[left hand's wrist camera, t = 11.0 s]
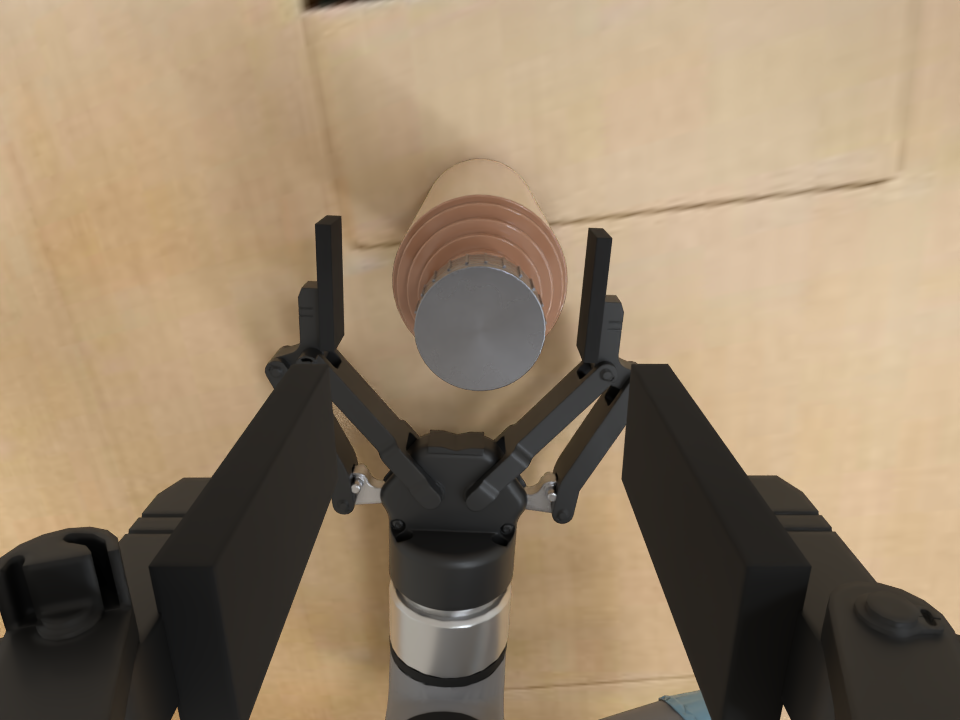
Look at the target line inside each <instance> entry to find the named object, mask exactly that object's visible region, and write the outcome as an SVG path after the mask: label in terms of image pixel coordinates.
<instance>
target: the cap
mask: <svg viewBox="0 0 960 720" xmlns="http://www.w3.org/2000/svg"><path fill="white" fill-rule="evenodd" d="M543 306H544V305H543V302H542V299H541V295H540V294H538V293H537V290H536V288H535V286H534V282H533V279H532V278H531V279H529V277H528V276H527V275H526V274H525V273H524V272H523V271H522V270H521V267H520V266H519V265H518V267H517V266H516V265H514V264H513V263H511V262H509V261H507V260H505V257H502V258H500V257H496V256H492V255H487V253H484V254H476V255H468V254H466V256H464V257H460V258H457V259H455V260H453V261H451V260H449V261H448V263H447V264H446V265H444V266H443V267H441V268H440V269H439V270H438V271H436V270H435V271H434V273H433V276H432V277H431V278H430V280H429V281H428V283H427V284H424V286H423V289H422V292H421V299H420V301H419V300H418V302H417V306H416V309H415V312H414V313H415V314H416V316H415V323H414V334H415V341H416V344H417V348H418V350H419V353H420V355H421V357H422V359H423V360H424V362H425V363H426V365H427V366H428V367H429V368H430V370H431V371H433V372H434V373H435V374H436V375H437V376H438V377H440V378H441V379H442V380H444V381H446V382H447V383H449V384H451V385H454V386H456V387H459V388H462V389H466V390H473V391H486V390H493V389H498V388H501V387H504V386H507V385H509V384H511V383H513V382H515V381H516V380H518V379H519V378H521V377H522V376H523V375H524V374H525V373H527V372H528V370H529V369H530V368H531V367H532V366H533V365H534V363H535V362H536V360H537V359H538V357H539V355H540V353H541V350H542V347H543V345H544V340H545V332H546V325H545V324H547V322H546V318H545V315H544V312H543V309H542V307H543Z"/></svg>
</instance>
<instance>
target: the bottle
mask: <svg viewBox="0 0 960 720" xmlns="http://www.w3.org/2000/svg"><path fill="white" fill-rule="evenodd" d="M484 253H487V255H492V256H496V257H500V258H502V257H505V260H507V261H509V262H511V263H513V264H514V265H516V266H517V267H518V265H519V266H520V267H521V270H522V271H523V272H524V273H525V274H526V275H527V276H528V277H529V279H531V278H532V279H533V282H534V286H535V288H536V290H537V293H538V294H540V295H541V299H542V302H543V305H544V306H543V307H542V309H543V312H544V315H545V318H546V322H547V324H545V325H546V332H545V336H546V335H547V334H548V333H549V332H550V330H551V329H552V327H553V326H554V325H555V323H556V321H557V319H558V317H559V315H560V313H561V311H562V308H563V305H564V302H565V297H566V293H567V282H568V279H567V267H566V262H565V258H564V255H563V252H562V249H561V246H560V244H559V242H558V240H557V238H556V236H555V235H554V233H553V231H552V229H551V227H550V226H549V224H548V222H547V220H546V218H545V217H544V215H543V213H542V211H541V209H540V207H539V206H538V204H537V202H536V200H535V198H534V197H533V195H532V193H531V191H530V189H529V187H528V186H527V184H526V183H525V181H524V180H523V179H522V178H521V177H520V176H519V174H517V173H516V172H515V171H514V170H513V169H511V168H509V167H508V166H506V165H504V164H502V163H500V162H497V161H493V160H488V159H472V160H467V161H463V162H461V163H458V164H456V165H454V166H452V167H450V168H449V169H448V170H446V171H445V172H444V173H443V174H442V175H441V176H440V177H439V178H438V179H437V180H436V181H435V183H434V184H433V186H432V188H431V189H430V191H429V193H428V195H427V197H426V198H425V200H424V202H423V204H422V206H421V208H420V209H419V211H418V213H417V215H416V217H415V218H414V220H413V222H412V224H411V226H410V227H409V229H408V231H407V233H406V235H405V237H404V238H403V240H402V242H401V244H400V247H399V249H398V251H397V254H396V258H395V262H394V267H393V292H394V298H395V302H396V305H397V309H398V311H399V313H400V315H401V318H402V319H403V321H404V323H405V324H406V326H407V328H408V329H409V330H410V332H411V333H412V334H413V335H414V337H415V334H414V323H415V316H416V314H415V313H414V312H415V309H416V306H417V302H418V300H419V301H420V299H421V292H422V289H423V286H424V284H427V283H428V281H429V280H430V278H431V277H432V276H433V273H434V271H435V270H436V271H438V270H439V269H440V268H441V267H443V266H444V265H446V264H447V263H448V261H449V260H451V261H453V260H455V259H457V258H460V257H464V256H466V254H468V255H476V254H484Z"/></svg>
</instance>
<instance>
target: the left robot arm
mask: <svg viewBox="0 0 960 720" xmlns="http://www.w3.org/2000/svg"><path fill="white" fill-rule="evenodd" d="M337 482H338V468H337V456H336V444H335V432H334V421H333V409H332V397H331V385H330V373H329V364H292V365H291V366H290V368H289V369H288V370H287V372H286V373H285V375H284V376H283V378H282V379H281V380H280V382H279V383H278V385H277V386H276V387H275V389H274V390H273V392H272V393H271V394H270V396H269V397H268V399H267V400H266V401H265V403H264V404H263V406H262V407H261V408H260V410H259V411H258V413H257V414H256V416H255V417H254V418H253V420H252V421H251V423H250V424H249V425H248V427H247V428H246V430H245V431H244V432H243V434H242V435H241V437H240V438H239V439H238V441H237V442H236V444H235V445H234V446H233V448H232V449H231V451H230V452H229V454H228V455H227V456H226V458H225V459H224V461H223V462H222V463H221V465H220V466H219V468H218V469H217V470H216V472H215V473H214V475H213V476H212V477H211V478H182V479H181V480H179V481H178V482H176V483H175V484H173V485H172V486H170V487H168V488H167V489H165V490H164V491H162V492H161V493H159V494H158V495H157V496H156V497H155V498H154V500H153V501H152V502H151V503H150V505H149V506H148V507H147V508H146V509H145V511H144V512H143V513H142V518H138V519H137V520H136V522H135V523H134V524H133V525H132V527H131V528H130V529H129V533H128V534H125V535H124V536H123V538H122V539H121V540H120V541H119V542H118V538H117V537H116V536H115V535H113V534H112V533H111V532H109V531H108V530H104V529H99V528H94V527H80V528H67V529H63V530H59V531H55V532H51V533H47V534H43V535H41V536H39V537H36V538H34V539H32V540H29V541H27V542H25V543H22V544H20V545H19V546H17V547H16V548H14V549H13V550H11V551H10V552H8V553H7V554H5V555H4V556H2V557H1V558H0V613H1V616H2V619H3V622H4V626H5V629H6V633H5V635H4V637H3V638H0V720H171V718H172V716H173V714H174V712H175V710H176V708H177V707H178V712H179V717H180V720H249V717H250V715H251V712H252V709H253V707H254V704H255V701H256V699H257V696H258V693H259V691H260V688H261V685H262V683H263V680H264V677H265V675H266V672H267V669H268V667H269V664H270V661H271V659H272V656H273V653H274V650H275V648H276V645H277V642H278V640H279V637H280V634H281V632H282V629H283V626H284V624H285V621H286V618H287V616H288V613H289V610H290V608H291V605H292V602H293V600H294V597H295V594H296V591H297V589H298V586H299V583H300V581H301V578H302V575H303V573H304V570H305V567H306V565H307V562H308V559H309V557H310V554H311V551H312V549H313V546H314V543H315V541H316V538H317V535H318V533H319V530H320V527H321V524H322V522H323V519H324V516H325V514H326V511H327V508H328V506H329V503H330V500H331V498H332V495H333V492H334V490H335V487H336V484H337ZM622 482H623V484H624V487H625V490H626V492H627V495H628V498H629V500H630V503H631V506H632V508H633V511H634V514H635V516H636V519H637V522H638V524H639V527H640V530H641V533H642V535H643V538H644V541H645V543H646V546H647V549H648V551H649V554H650V557H651V559H652V562H653V565H654V567H655V570H656V573H657V575H658V578H659V581H660V583H661V586H662V589H663V591H664V594H665V597H666V600H667V602H668V605H669V608H670V610H671V613H672V616H673V618H674V621H675V624H676V626H677V629H678V632H679V634H680V637H681V640H682V642H683V645H684V648H685V650H686V653H687V656H688V659H689V661H690V664H691V667H692V669H693V672H694V675H695V677H696V680H697V683H698V685H699V688H700V691H701V693H702V696H703V699H704V701H705V704H706V707H707V709H708V712H709V715H710V717H711V720H780V717H781V712H782V707H783V705H784V707H785V709H786V711H787V713H788V715H789V717H790V719H791V720H960V635H957V634H955V631H954V630H953V628H952V627H951V625H950V624H949V623H948V621H947V620H946V619H945V617H944V616H943V615H942V614H941V613H940V612H939V611H937V610H936V609H935V608H933V607H932V606H931V605H930V604H928V603H927V602H926V601H924V600H922V599H920V598H918V597H916V596H914V595H912V594H910V593H908V592H906V591H904V590H902V589H899V588H895V587H892V586H888V585H885V584H881V583H877V582H876V581H875V580H874V578H873V577H872V576H871V575H870V573H869V572H868V571H867V570H866V569H865V567H864V566H863V565H862V564H861V563H860V561H859V560H858V559H857V558H856V556H855V555H854V554H853V553H852V552H851V550H850V549H849V548H848V547H847V545H846V544H845V543H844V542H843V541H842V539H841V538H840V537H839V536H838V535H837V533H836V532H832V527H831V526H830V525H829V524H828V522H827V521H826V520H825V519H824V517H823V516H822V515H819V514H818V510H817V509H816V508H815V507H814V505H813V504H812V503H811V502H810V500H809V499H808V498H807V497H806V496H805V494H804V493H803V492H802V491H800V490H799V489H797V488H795V487H794V486H792V485H791V484H789V483H788V482H786V481H784V480H783V479H781V478H780V477H778V476H747V475H746V473H745V472H744V470H743V469H742V468H741V466H740V465H739V463H738V462H737V461H736V459H735V458H734V456H733V455H732V454H731V452H730V451H729V449H728V448H727V446H726V445H725V444H724V442H723V441H722V439H721V438H720V437H719V435H718V434H717V432H716V431H715V430H714V428H713V427H712V425H711V424H710V423H709V421H708V420H707V418H706V417H705V416H704V414H703V413H702V411H701V410H700V408H699V407H698V406H697V404H696V403H695V401H694V400H693V399H692V397H691V396H690V394H689V393H688V392H687V390H686V389H685V387H684V386H683V385H682V383H681V382H680V380H679V379H678V378H677V376H676V375H675V373H674V372H673V370H672V369H671V368H670V366H669V365H668V364H631V373H630V385H629V397H628V409H627V421H626V432H625V444H624V456H623V468H622Z"/></svg>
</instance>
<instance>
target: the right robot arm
mask: <svg viewBox="0 0 960 720" xmlns="http://www.w3.org/2000/svg"><path fill="white" fill-rule="evenodd" d="M315 236H316V262H317V281H308V282H307V283H306V284H305V285H304V286H303V287H302V288H301V291H300V294H299V296H298V304H299V325H300V343H299V344H297V345H294V346H283V347H282V348H280V349H279V350H278V352H277V353H276V354H275V355H274V357H273V358H272V359H271V360H270V362H269V363H268V364H267V366H266V368H265V373H266V376H267V378H268V379H269V381H270V383H271V384H272V386H273V388H274V389H275V387H276V386H277V385H278V383H279V382H280V380H281V379H282V378H283V376H284V375H285V373H286V372H287V370H288V369H289V368H290V366H291V365H292V364H329V373H330V385H331V397H332V401H333V403H334V404H335V405H336V406H337V407H338V408H339V409H340V410H341V411H342V412H343V413H344V414H345V416H346V417H347V418H348V419H349V420H350V421H351V422H352V423H353V424H354V425H355V426H356V427H357V429H358V430H359V431H360V432H361V433H362V434H363V435H364V436H365V437H366V438H367V439H368V440H369V441H370V443H371V444H372V445H373V446H374V447H375V448H376V449H377V450H378V452H379V455H380V458H381V459H382V461H383V462H384V463H385V465H386V466H387V467H388V468H389V469H390V471H389V472H388V473H387V474H386V476H385V477H384V480H378V479H375V478H374V477H373V476H372V475H371V473H370V471H369V470H368V468H367V467H366V465H364V464H359V465H358V461H357V457H356V454H355V452H354V450H353V448H352V446H351V444H350V442H349V440H348V438H347V437H346V435H345V433H344V431H343V430H342V428H341V426H340V424H339V423H338V421H337V419H336V417H335V416H334V414H333V421H334V432H335V444H336V456H337V468H338V482H337V484H336V487H335V490H334V492H333V495H332V503H333V507H334V510H335V511H336V512H338V513H340V514H349V513H350V512H352V510H353V509H354V506H355V504H372V503H382V504H383V506H384V507H385V509H386V511H387V513H388V516H389V573H390V577H391V579H390V584H389V628H390V636H389V638H390V672H389V695H388V705H387V712H386V718H385V720H504V678H505V654H506V647H507V639H508V634H509V619H510V605H511V591H512V585H511V580H512V576H513V566H514V553H515V540H516V528H517V521H518V519H519V517H520V515H521V514H522V513H523V511H524V510H525V509H528V510H535V511H542V512H549V513H552V517H553V519H554V521H556V522H557V523H560V524H565V523H567V522H569V521H570V520H571V519H572V517H573V515H574V511H575V507H576V502H577V498H578V494H579V491H580V489H581V488H582V487H583V485H584V484H585V482H586V481H587V479H588V478H589V477H590V475H591V474H592V472H593V471H594V470H595V468H596V467H597V465H598V464H599V462H600V461H601V460H602V458H603V457H604V455H605V454H606V453H607V451H608V450H609V448H610V447H611V445H612V444H613V443H614V441H615V440H616V438H617V437H618V436H619V434H620V433H621V431H622V430H623V428H624V427H625V426H626V421H627V409H628V397H629V385H630V373H631V364H637V363H636V362H633V361H625V360H623V359H621V358H619V357H618V354H619V346H620V338H621V330H622V322H623V315H624V311H623V308H622V304H621V302H620V300H619V299H618V298H617V296H616V295H606V289H607V280H608V271H609V263H610V254H611V246H612V237H611V236H610V235H609V234H608V233H607V232H606V231H605V230H604V229H603V228H589V229H588V239H587V249H586V258H585V268H584V278H583V287H582V297H581V307H580V316H579V326H578V336H577V348H578V350H579V353H580V355H581V358H582V361H581V362H580V363H579V364H578V365H577V366H576V367H575V368H574V369H573V370H572V371H571V372H570V373H569V374H568V375H567V376H566V377H565V378H563V379H562V380H561V381H560V382H559V383H558V384H557V385H556V386H555V387H554V388H553V389H552V390H551V391H550V392H549V393H548V394H547V395H546V396H544V397H543V398H542V399H541V400H540V401H539V402H538V403H537V404H536V405H535V406H534V407H533V408H532V409H531V410H530V411H529V412H528V413H527V414H526V415H524V416H523V417H522V418H521V419H520V420H519V421H518V422H517V423H516V424H514V425H510V426H509V427H507V428H506V429H505V430H504V431H503V432H502V433H501V434H500V435H499V436H498V437H497V438H496V439H495V440H494V441H493V440H492V439H490V438H488V437H485V436H484V432H467V433H462V434H453V433H450V432H446V431H439V430H430V434H426V435H424V436H421V437H419V436H418V435H417V433H416V432H415V431H414V430H413V429H412V428H411V427H410V426H409V425H408V423H407V422H406V421H404V420H400V419H399V418H398V417H397V416H396V415H395V414H394V413H393V411H392V410H391V409H390V408H389V407H388V406H387V405H386V404H385V403H384V401H383V400H382V399H381V398H380V397H379V396H378V395H377V394H376V392H375V391H374V390H373V389H372V388H371V387H370V386H369V385H368V384H367V382H366V381H365V380H364V379H363V378H362V377H361V376H360V375H359V374H358V372H357V371H356V370H355V369H354V368H353V367H352V366H351V365H350V363H349V362H348V361H347V360H346V359H345V358H344V357H343V356H342V355H341V353H340V352H339V351H338V350H337V349H336V348H337V347H338V345H339V343H340V341H341V340H342V338H343V336H344V305H343V264H342V223H341V216H331V215H327V216H325V217H324V218H323V219H321V220H320V221H319V222H317V223H316V224H315ZM601 394H602V395H601ZM600 395H601V396H600ZM599 396H600V397H599ZM598 397H599V399H598V400H597V402H596V403H595V405H594V406H593V408H592V409H591V411H590V412H589V414H588V415H587V417H586V418H585V420H584V421H583V423H582V424H581V425H580V427H579V428H578V430H577V431H576V433H575V434H574V436H573V437H572V439H571V440H570V442H569V443H568V445H567V446H566V448H565V449H564V450H563V452H562V453H561V455H560V457H559V458H558V460H557V462H556V464H555V467H554V470H553V473H551V472H546V473H545V474H544V475H543V476H542V477H541V479H540V481H539V482H538V483H537V484H536V485H534V486H531V487H527V486H526V484H525V482H524V480H523V479H522V477H521V476H520V474H521V473H522V472H523V471H524V470H525V469H526V468H527V467H528V466H529V464H530V462H531V460H532V458H533V457H534V456H535V455H536V454H537V453H538V452H539V451H540V450H541V449H542V448H543V447H545V446H546V445H547V444H548V443H549V442H550V441H551V440H552V439H553V438H554V437H555V436H556V435H558V434H559V433H560V432H561V431H562V430H563V429H564V428H565V427H566V426H567V425H568V424H569V423H571V422H572V421H573V420H574V419H575V418H576V417H577V416H578V415H579V414H580V413H581V412H582V411H584V410H585V409H586V408H587V407H588V406H589V405H590V404H591V403H592V402H593V401H594V400H596V399H597V398H598ZM600 720H711V717H710V715H709V712H708V709H707V707H706V704H705V701H704V699H703V696H702V693H701V691H700V690H698V691H693V692H688V693H683V694H678V695H673V696H663V697H661V698H659V701H657V702H654V703H651V704H648V705H644V706H641V707H638V708H635V709H632V710H628V711H625V712H622V713H619V714H616V715H612V716H609V717H606V718H603V719H600Z"/></svg>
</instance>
